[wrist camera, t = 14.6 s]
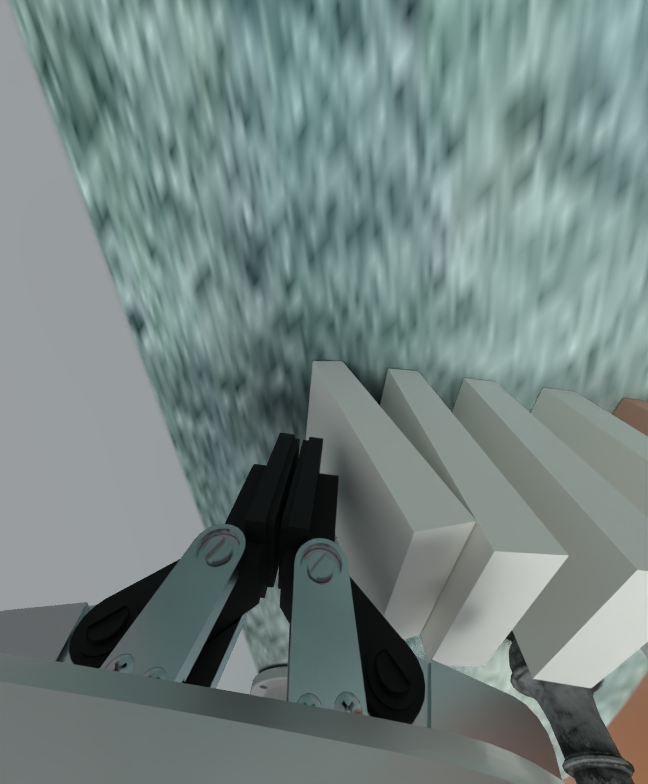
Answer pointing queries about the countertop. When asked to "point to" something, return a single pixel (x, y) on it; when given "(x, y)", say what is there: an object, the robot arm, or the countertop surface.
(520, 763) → the robot arm
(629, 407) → the end domino
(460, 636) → the domino
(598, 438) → the domino
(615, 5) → the countertop surface
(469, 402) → the domino
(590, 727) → the dark grey ornamental finial
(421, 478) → the domino
